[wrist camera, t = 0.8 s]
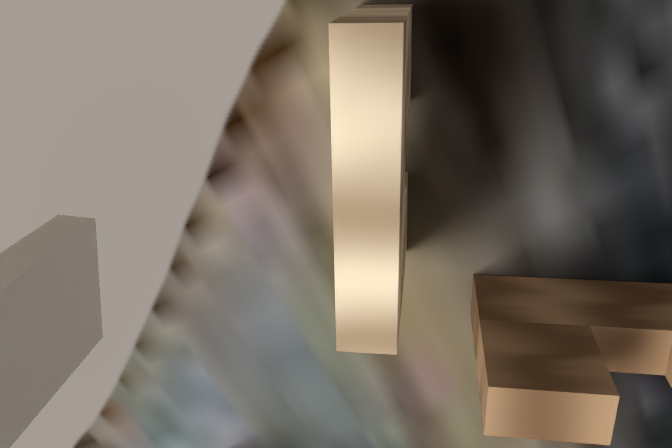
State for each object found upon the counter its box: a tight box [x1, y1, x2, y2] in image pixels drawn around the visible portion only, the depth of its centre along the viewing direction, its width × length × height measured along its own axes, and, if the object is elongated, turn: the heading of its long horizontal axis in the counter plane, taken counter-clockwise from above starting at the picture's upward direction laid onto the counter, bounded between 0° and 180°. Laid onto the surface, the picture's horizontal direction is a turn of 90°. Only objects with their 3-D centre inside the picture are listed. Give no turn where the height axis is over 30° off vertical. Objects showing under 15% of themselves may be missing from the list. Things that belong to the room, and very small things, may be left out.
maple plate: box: [329, 4, 413, 355], centre depth 28 cm, size 13×2×10 cm, turn 1°
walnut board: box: [471, 274, 672, 445], centre depth 29 cm, size 14×2×10 cm, turn 91°
